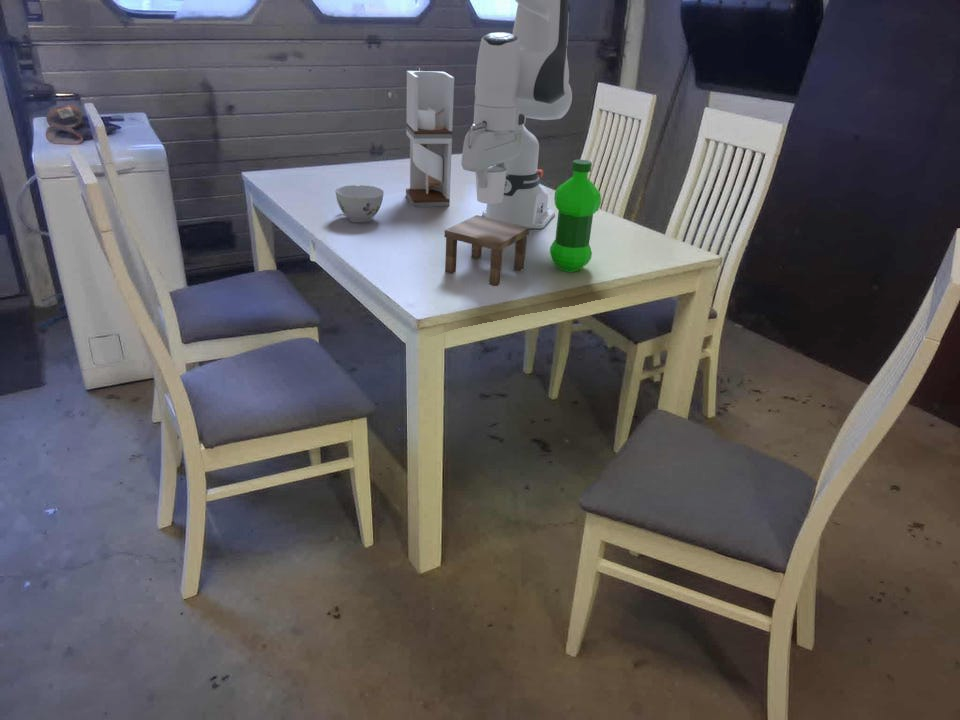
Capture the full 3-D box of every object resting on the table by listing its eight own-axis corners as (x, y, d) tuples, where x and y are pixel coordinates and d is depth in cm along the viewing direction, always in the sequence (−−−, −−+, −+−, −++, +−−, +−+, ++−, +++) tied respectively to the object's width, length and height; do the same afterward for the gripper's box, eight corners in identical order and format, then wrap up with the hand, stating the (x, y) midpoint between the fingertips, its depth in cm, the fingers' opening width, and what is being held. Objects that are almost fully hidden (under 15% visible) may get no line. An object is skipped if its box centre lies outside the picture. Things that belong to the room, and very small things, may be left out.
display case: (406, 195, 213) (406, 70, 196) (440, 194, 216) (444, 71, 199) (413, 206, 204) (415, 76, 187) (449, 205, 206) (454, 77, 189)
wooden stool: (474, 255, 173) (476, 215, 168) (525, 268, 167) (529, 227, 162) (443, 272, 162) (444, 230, 157) (496, 287, 156) (499, 244, 151)
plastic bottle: (539, 268, 167) (550, 161, 155) (560, 256, 175) (572, 154, 163) (577, 279, 163) (592, 170, 150) (597, 266, 170) (612, 161, 158)
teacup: (392, 222, 190) (392, 193, 186) (350, 230, 183) (349, 199, 179) (365, 207, 200) (364, 179, 197) (324, 213, 194) (323, 184, 190)
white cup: (511, 200, 156) (513, 168, 153) (491, 206, 152) (492, 173, 149) (488, 194, 160) (489, 163, 157) (467, 200, 156) (468, 167, 153)
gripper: (483, 127, 139) (478, 197, 145) (529, 114, 154) (524, 178, 161) (455, 123, 141) (452, 191, 148) (504, 110, 157) (500, 173, 164)
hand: (490, 184), depth 155 cm, fingers closed on white cup, 5 cm apart
